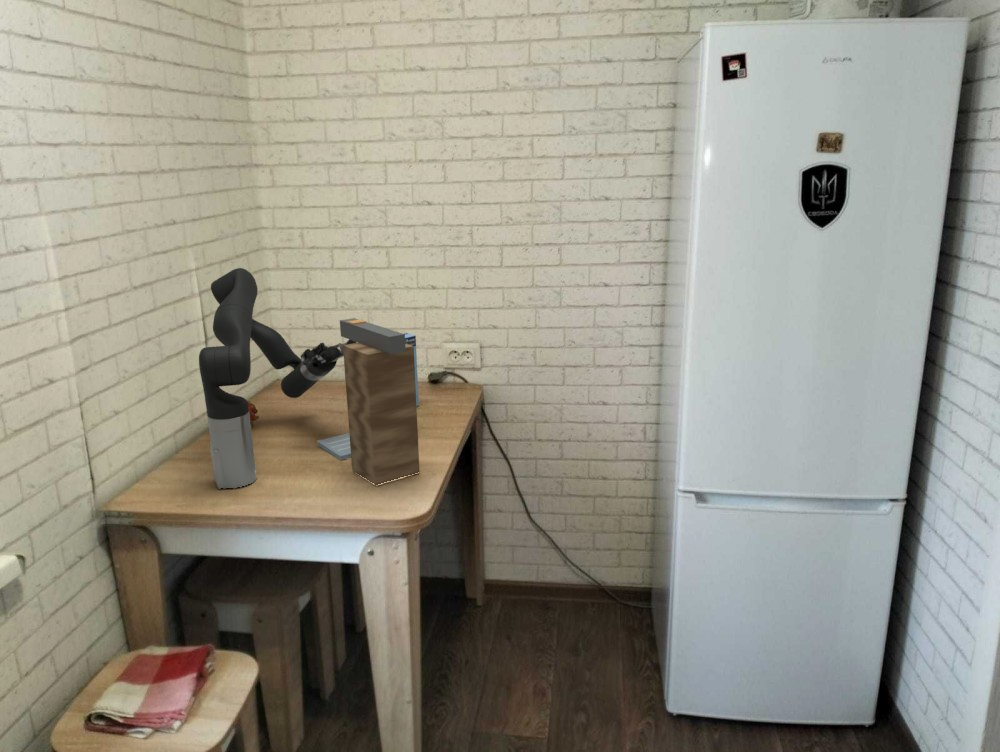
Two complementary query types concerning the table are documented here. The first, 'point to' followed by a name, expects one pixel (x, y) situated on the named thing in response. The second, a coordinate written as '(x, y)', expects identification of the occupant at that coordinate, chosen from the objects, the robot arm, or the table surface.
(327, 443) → the board
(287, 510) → the table surface
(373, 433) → the walnut stand
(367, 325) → the bar
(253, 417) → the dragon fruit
